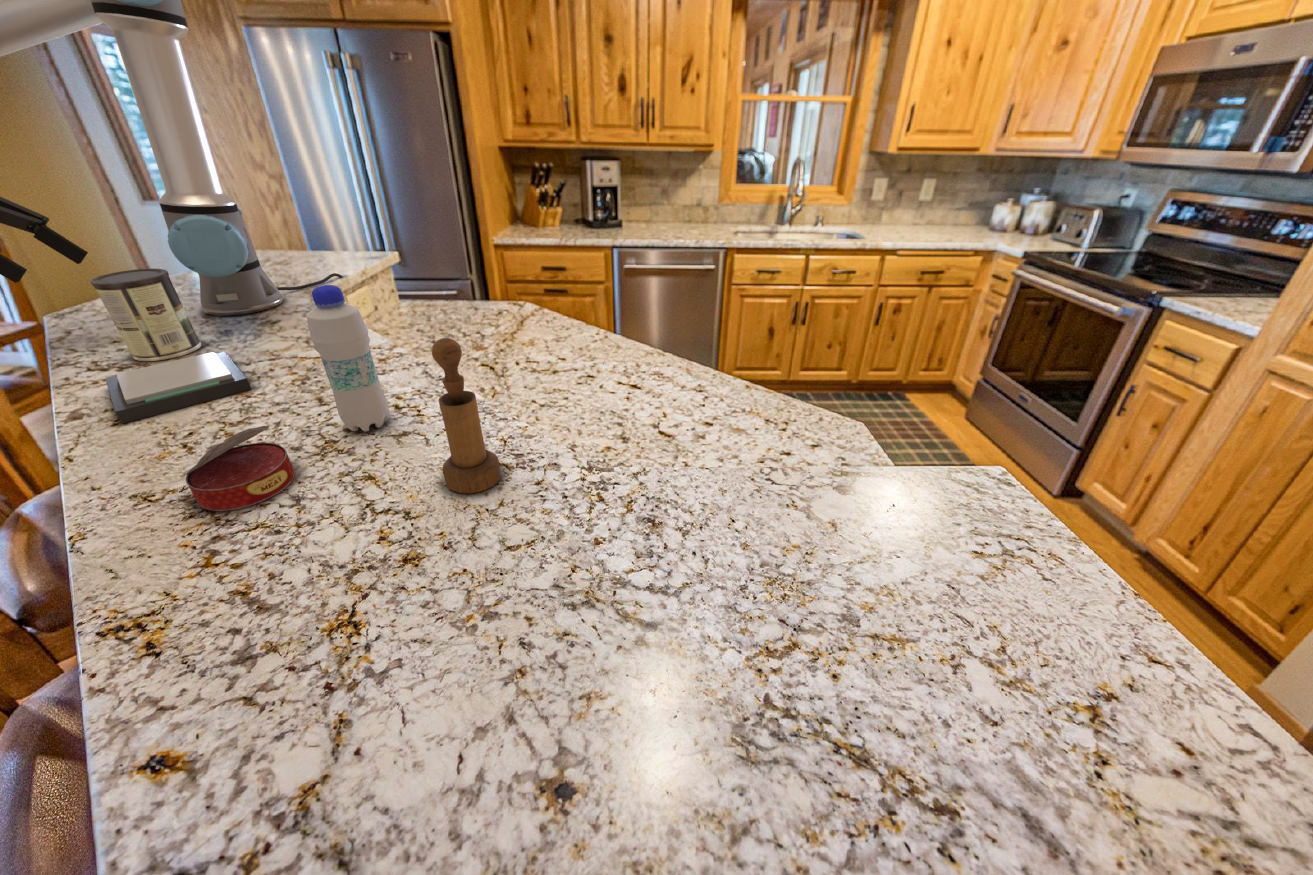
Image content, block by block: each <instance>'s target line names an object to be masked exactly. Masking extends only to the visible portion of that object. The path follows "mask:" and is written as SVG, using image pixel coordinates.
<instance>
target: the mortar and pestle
mask: <svg viewBox="0 0 1313 875" xmlns="http://www.w3.org/2000/svg"><path fill="white" fill-rule="evenodd" d="M462 351H463V350H462V348H461V346H460V344H459V343H458V342H457V340H456V339H454V338H450V337H443V338H439V339H437V340H436V341H435V342H433V344H432V346H431V356H432V358H433V360H434V361H435V362H436V363H437V365H438V366H439V367H440V368H441V369H442V370H443V372H444V377H443V378H442V379H441V382H442V385H443V387H444V388H445V390H446V392H447V393H445V394H442V395H441V396H440V397H439V398H438V405H439V409H440V412H441V417H442V420H443V425H444V429H445V433H446V437H447V443H448V447H449V451H450V456H449V457H448V458H447V459H446V460H445V461H444V463H443V465H442V474H443V478H444V483H445V485H446V487H447V488H448V489H449V490H451V491H452V492H455V493H459V494H475V493H480V492H484V491H486V490H489V489H490V488H492V487H494V486H495V485H496V484H497V483H498V482H499V481H500V480H501V477H502V470H501V467H500V466H501V465H500V462H499V458H498V455H496V454H495V453H494V452H493V451H491V450H488V449H487V448H486V446H485V440H484V435H483V431H482V424H481V419H480V412H479V407H478V403H477V398H476V397H477V396H476V394H475V392H473V391H470V390H464V389H465V377H464V376H463V375H462V374H460V373H459V364H460V363H461V359H462V356H463V352H462Z"/></svg>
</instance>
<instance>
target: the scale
mask: <svg viewBox="0 0 1313 875" xmlns="http://www.w3.org/2000/svg"><path fill="white" fill-rule="evenodd" d="M104 379H105V383H106V386H107V390H108V393H109V397H110V399H111V403H112V407H113V410H114V413H115V415H116V416H117V418H118V419H119V421H120V423H121V424H122V425H124V424H127V423H131V422H135V421H138V420H142V419H146V418H150V417H153V416H157V415H161V414H165V413H169V412H172V411H176V410H180V409H184V408H187V407H190V406H194V405H199V404H202V403H206V402H209V401H213V400H217V399H222V398H225V397H229V396H233V395H236V394H239V393H244V392H247V391H251V390H252V387H251V384H250V382H249V380H248V378H247V376H246V375H245V373H243V372H242V371H241V369H240V368H239V367H238V366H237V364H236V363H235V362H234V361H233V360H232V358H231V357H230V356H229V354H228V353H227V352H226V351H220V352H215V351H211V352H208V353H203V354H198V355H193V356H189V357H185V358H181V359H176V360H171V361H166V362H162V363H158V364H153V365H149V366H144V367H139V368H135V369H131V370H125V371H121V372H116V373H115V375H113V376H108V377H105V378H104Z"/></svg>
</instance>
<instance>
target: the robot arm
mask: <svg viewBox="0 0 1313 875" xmlns="http://www.w3.org/2000/svg"><path fill="white" fill-rule="evenodd" d="M187 22H188V21H187V19H186V15H185V11H184V8H183V4H182V0H0V58H1V57H4V56H7V55H10V54H13V53H16V52H19V51H22V50H25V49H29V48H32V47H35V46H37V45H41V44H44V43H47V42H50V41H53V40H56V39H59V38H62V37H65V36H69V35H70V34H74V33H78V32H80V31H83V30H86V29H90V28H92V27H96V26H99V25H102V24H104V25H106V26H107V27H108V28H109V29H110V30H111V31H112V32H113V35H114V38H115V42H116V44H117V48H118V51H119V53H120V56H121V59H122V63H123V65H124V68H125V72H126V75H127V77H128V80H129V83H130V88H131V89H132V92H133V96H134V99H135V103H136V105H137V108H138V112H139V114H140V117H141V120H142V124H143V126H144V129H145V133H146V136H147V138H148V141H149V145H150V147H151V150H152V154H153V157H154V159H155V160H154V161H155V163H156V166H157V169H158V171H159V174H160V177H161V181H162V183H163V187H164V190H165V191H164V193H163V195H161V197H160V198H159V199H158V204H159V206H160V210H161V213H162V215H163V219H164V221H165V225H166V227H167V231H168V232H167V244H168V247H169V250H170V251H171V253H172V254H173V256H174V257H175V259H176V260H177V261H178V262H179V263H180V264H182V265H183V266H184V267H185V268H187V269H189V270H190V271H192V272H194V273H196V274H198V277H199V295H200V296H199V298H200V304H201V308H202V310H203V312H204V313H205V314H206V315H209V316H216V317H230V316H241V315H248V314H254V313H258V312H263V311H266V310H270V309H272V308H275V307H277V306H279V305H280V304H281V305H282V303H283V301H284V299H283V296H282V294H281V292H280V291H299V290H303V289H308V288H311V287H315V286H318V285H321V284H324V283H326V282H328V281H329V280H331V279H332V278H333V277H337V278H339V279H342V278H344V276H343V275H342V274H340V273H337V272H335V273H330V274H328V275H327V276H326V277H324V278H323V279H321V280H317V281H314V282H311V283H306V284H302V285H297V286H276V285H275V283H274V282H273V281H272V280H271V279H270V277H269V276H268V275H267V274H266V272H265V271H264V269H263V267H262V265H261V263H260V260H259V257H258V254H257V253H256V250H255V246H254V245H253V242H252V239H251V236H250V233H249V230H248V228H247V225H246V223H245V220H244V217H243V212H242V210H241V208H240V207H239V204H238V202H237V201H236V200H235V199H234V198H232V197H231V196H229V195H228V194H226V193H225V191H224V189H223V185H222V181H221V178H220V174H219V171H218V166H217V164H216V160H215V157H214V153H213V150H212V149H213V148H212V146H211V142H210V139H209V135H208V131H207V128H206V124H205V122H204V118H203V113H202V110H201V106H200V104H199V100H198V97H197V92H196V89H195V86H194V82H193V79H192V76H191V71H190V68H189V65H188V62H187V58H186V54H185V52H184V47H183V44H182V41H183V40H182V39H183V38H184V37H185V36H186V35H187V33H188V32H189V30H190V29H189V27H188V23H187ZM49 221H50V218H49V217H48V216H46V215H44V214H42V213H39V212H37V211H35V210H32V209H29V208H28V207H26V206H23V205H21V204H18V203H16V202H14V201H11V200H9V199H7V198H5V197H2V196H0V224H2V225H5V226H7V227H11V228H14V229H17V230H18V229H19V230H21V231H24V232H27V233H29V234H33V238H34V239H36V240H37V241H39V242H41V243H42V244H44V245H45V246H47V247H49V248H51V249H52V250H54V251H55V252H57V253H59V255H61V256H64V257H65V258H67V259H68V260H70V261H72V262H73V263H75V264H76V265H80V264H82V262H83V261H84V260H85V258H86V256H87V255H88V254H89V252H88V251H87V250H85V249H84V248H82V247H80V246H78V245H77V244H75V243H74V242H72V241H71V240H69V239H68V238H66V237H65V236H63V235H62V234H60V233H59V232H56V230H54V229H52V228H50V227H49V226H48V223H49ZM27 270H28V268H25V267H23V266H22V265H20V264H19V263H17V262H15V261H13V260H12V259H10V258H8V257H7V256H5V255H3V254H1V253H0V275H1V276H2V277H4V278H6V279H7V280H9V281H11V282H13V283H15V284H16V283H20V282H21V280H22V279H23V277H24V275H25V274H26V272H27Z"/></svg>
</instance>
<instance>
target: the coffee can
mask: <svg viewBox="0 0 1313 875" xmlns="http://www.w3.org/2000/svg"><path fill="white" fill-rule="evenodd" d="M169 274H170V273H169V272H168V270H167V269H164V268H138V269H127V270H122V271H121V270H120V271H115V272H112V273H111V272H110V273H105V274H102V275H98V276H96V277H93V278H92V279H91V280H90V281H89V282H90V284H91V285H92V286H93V287H94V290H95V291H96V293H97V294H98V296H99V298H100V300H101V302H102V303H103V306H104V307H105V309H106V312H108V314H109V316H110V318H111V320H112V322H113V324H114V325H115V326H116V329H117V331H118V332H119V334H120V337H121V338H122V340H123V341H124V343H125V345H126V347H127V348H128V351H129V352H130V354H131V356H132V359H133V360H135V361H137V362H138V361H139V362H157V361H165V360H171V359H174V358H179V357H182V356H185V355H189V354H191V353H193V352H195V351H197V350H198V349H200V348H201V347H202V342H201V341H200V339H199V337H198V335H197V332H196V331H195V328H194V327H193V324H192V322H191V320H190V318H189V316H188V314H187V312H186V310H185V307H184V305H183V303H182V300H181V299H180V297H179V295H178V292H177V291H176V288H175V287H174V285H173V282H172V280H171V278H170V275H169Z"/></svg>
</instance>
